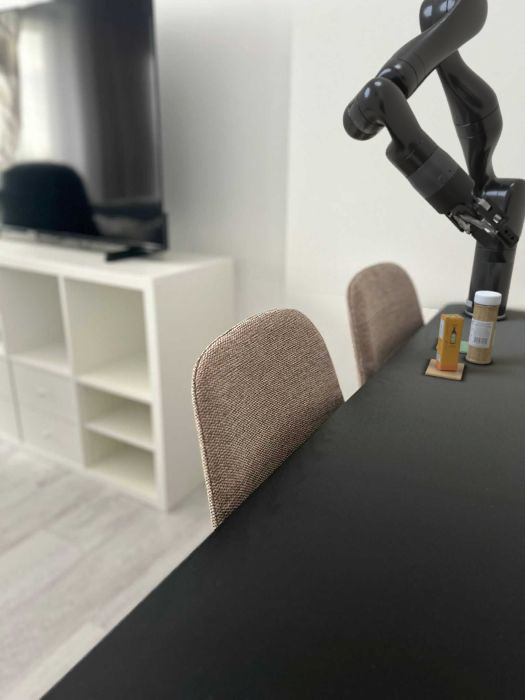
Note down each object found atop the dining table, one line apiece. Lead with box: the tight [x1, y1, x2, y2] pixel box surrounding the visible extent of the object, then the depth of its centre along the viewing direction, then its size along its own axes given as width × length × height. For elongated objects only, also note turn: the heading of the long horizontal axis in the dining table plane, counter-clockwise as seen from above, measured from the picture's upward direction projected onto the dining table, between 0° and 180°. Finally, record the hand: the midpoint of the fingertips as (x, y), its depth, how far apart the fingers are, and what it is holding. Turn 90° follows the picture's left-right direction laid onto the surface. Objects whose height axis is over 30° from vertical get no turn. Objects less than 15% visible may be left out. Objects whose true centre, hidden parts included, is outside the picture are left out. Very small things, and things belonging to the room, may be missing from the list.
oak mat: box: [424, 358, 465, 381], centre depth 94 cm, size 8×6×1 cm
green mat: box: [435, 340, 469, 354], centre depth 107 cm, size 7×6×1 cm
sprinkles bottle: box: [465, 291, 502, 365], centre depth 97 cm, size 5×5×13 cm
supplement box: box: [435, 313, 465, 371], centre depth 92 cm, size 3×3×10 cm
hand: (501, 244), depth 91 cm, fingers open, 8 cm apart
